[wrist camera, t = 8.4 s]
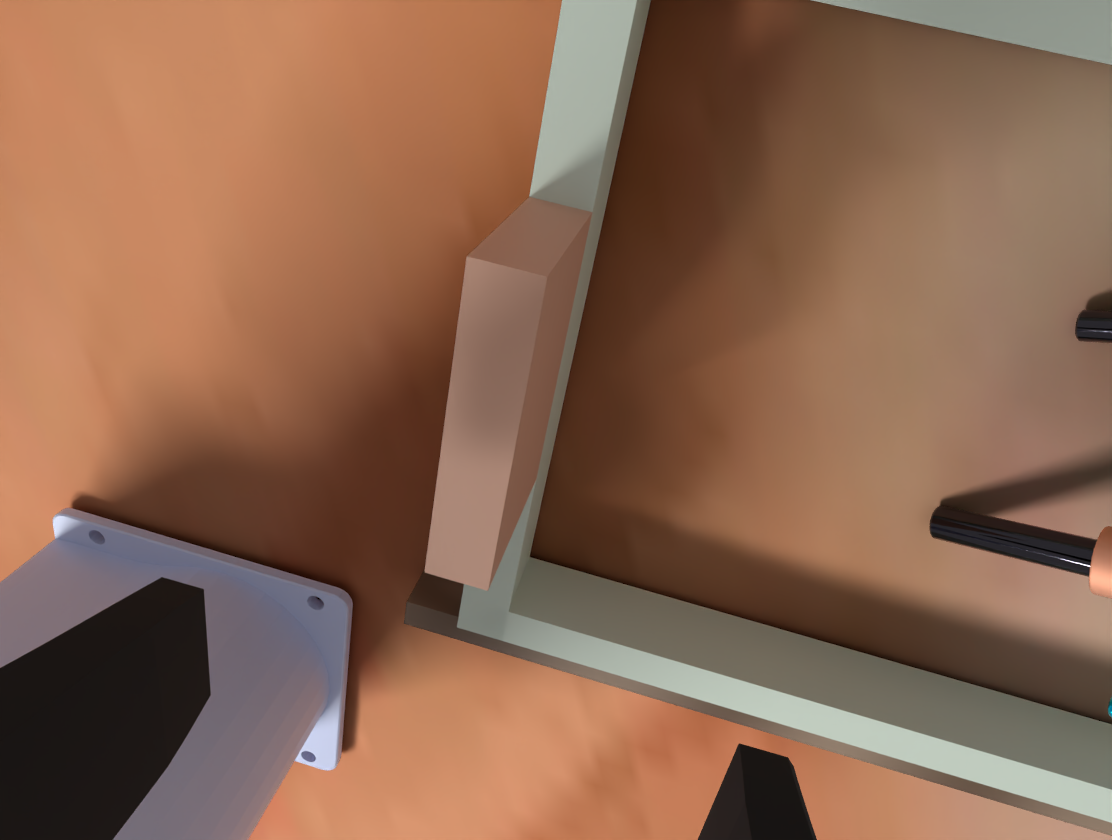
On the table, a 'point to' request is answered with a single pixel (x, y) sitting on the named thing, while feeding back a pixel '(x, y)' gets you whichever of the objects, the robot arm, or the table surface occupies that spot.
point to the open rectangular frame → (532, 421)
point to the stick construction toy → (1099, 559)
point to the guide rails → (439, 612)
